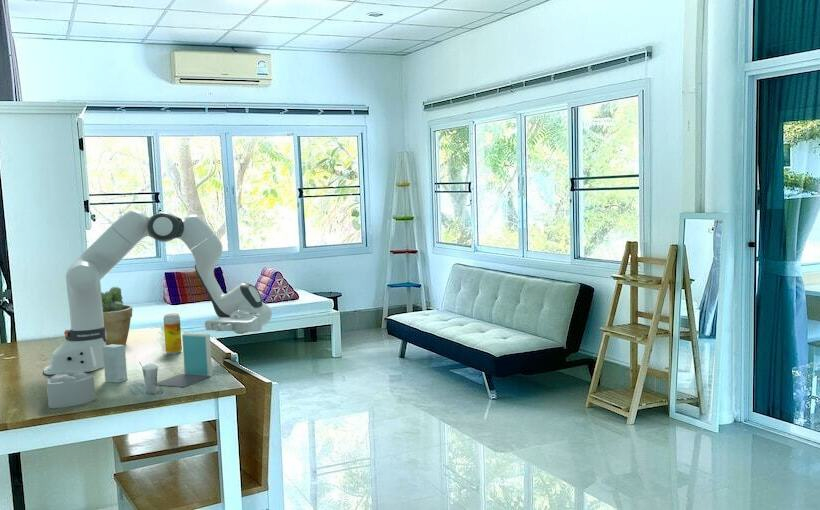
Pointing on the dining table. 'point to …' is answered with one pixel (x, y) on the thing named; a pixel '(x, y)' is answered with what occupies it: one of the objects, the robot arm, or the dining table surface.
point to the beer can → (172, 333)
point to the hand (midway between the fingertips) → (218, 328)
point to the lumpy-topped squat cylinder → (70, 389)
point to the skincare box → (114, 363)
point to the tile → (197, 354)
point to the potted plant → (115, 317)
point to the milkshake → (150, 377)
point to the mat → (182, 380)
